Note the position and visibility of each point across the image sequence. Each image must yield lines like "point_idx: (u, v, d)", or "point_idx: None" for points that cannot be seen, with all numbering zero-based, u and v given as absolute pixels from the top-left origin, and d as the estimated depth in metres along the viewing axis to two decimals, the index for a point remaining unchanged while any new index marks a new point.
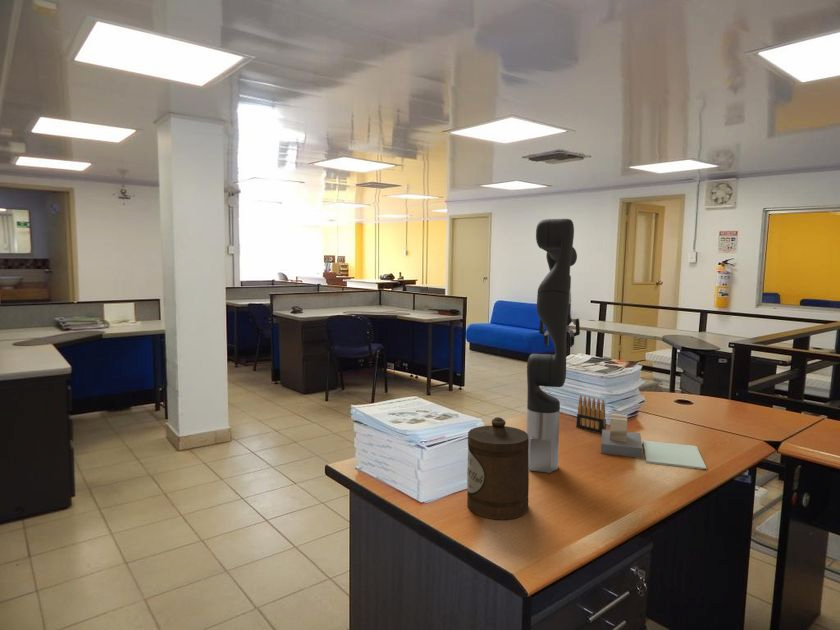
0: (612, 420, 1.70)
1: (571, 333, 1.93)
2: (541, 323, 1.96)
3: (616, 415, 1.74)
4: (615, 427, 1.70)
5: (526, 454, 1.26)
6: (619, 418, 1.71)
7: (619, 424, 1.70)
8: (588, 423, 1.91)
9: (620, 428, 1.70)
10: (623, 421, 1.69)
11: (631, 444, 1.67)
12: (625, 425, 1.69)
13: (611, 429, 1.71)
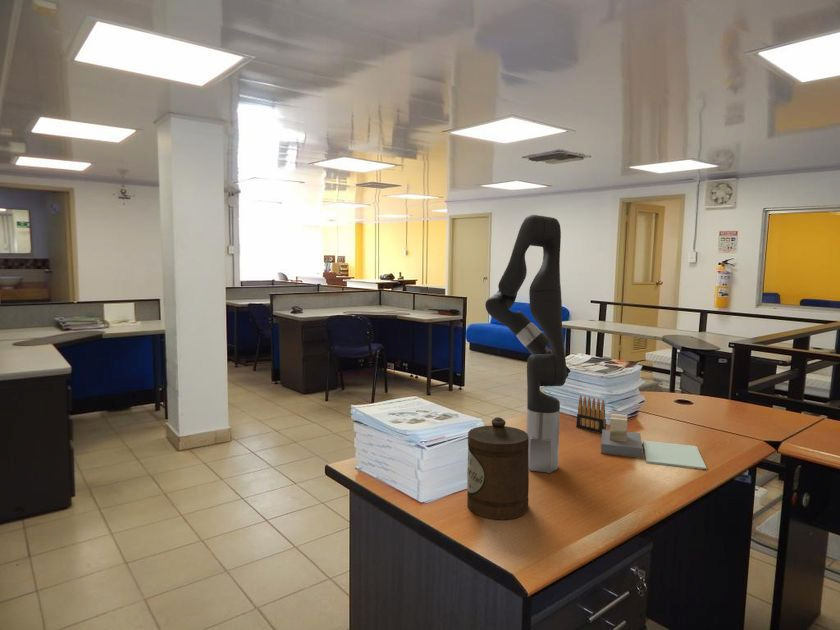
0: (612, 420, 1.70)
1: None
2: None
3: (616, 415, 1.74)
4: (615, 427, 1.70)
5: (526, 454, 1.26)
6: (619, 418, 1.71)
7: (619, 424, 1.70)
8: (588, 423, 1.91)
9: (620, 428, 1.70)
10: (623, 421, 1.69)
11: (631, 444, 1.67)
12: (625, 425, 1.69)
13: (611, 429, 1.71)
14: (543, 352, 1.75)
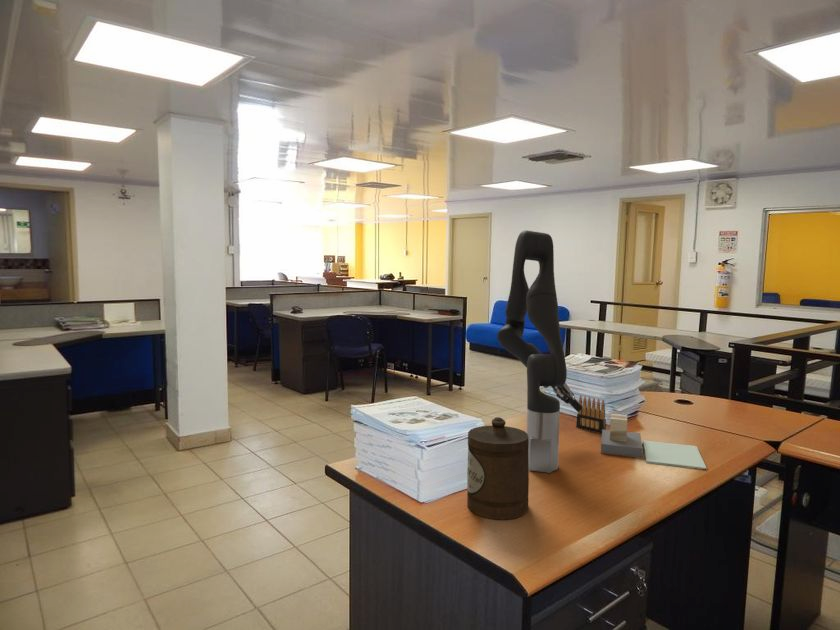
0: (612, 420, 1.70)
1: (572, 395, 1.78)
2: (566, 393, 1.73)
3: (616, 415, 1.74)
4: (615, 427, 1.70)
5: (526, 454, 1.26)
6: (619, 418, 1.71)
7: (619, 424, 1.70)
8: (588, 423, 1.91)
9: (620, 428, 1.70)
10: (623, 421, 1.69)
11: (631, 444, 1.67)
12: (625, 425, 1.69)
13: (611, 429, 1.71)
14: None
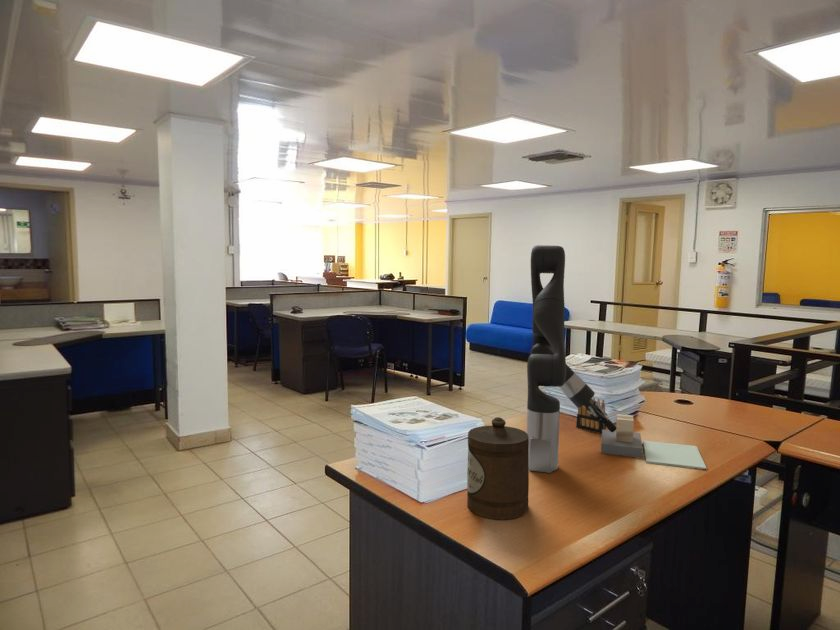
0: (618, 421, 1.70)
1: (606, 415, 1.74)
2: (600, 413, 1.70)
3: (622, 415, 1.74)
4: (621, 428, 1.70)
5: (526, 454, 1.26)
6: (625, 418, 1.70)
7: (625, 425, 1.69)
8: (588, 423, 1.91)
9: (626, 428, 1.69)
10: (629, 421, 1.69)
11: (631, 444, 1.67)
12: (631, 425, 1.69)
13: (617, 430, 1.70)
14: (588, 405, 1.72)
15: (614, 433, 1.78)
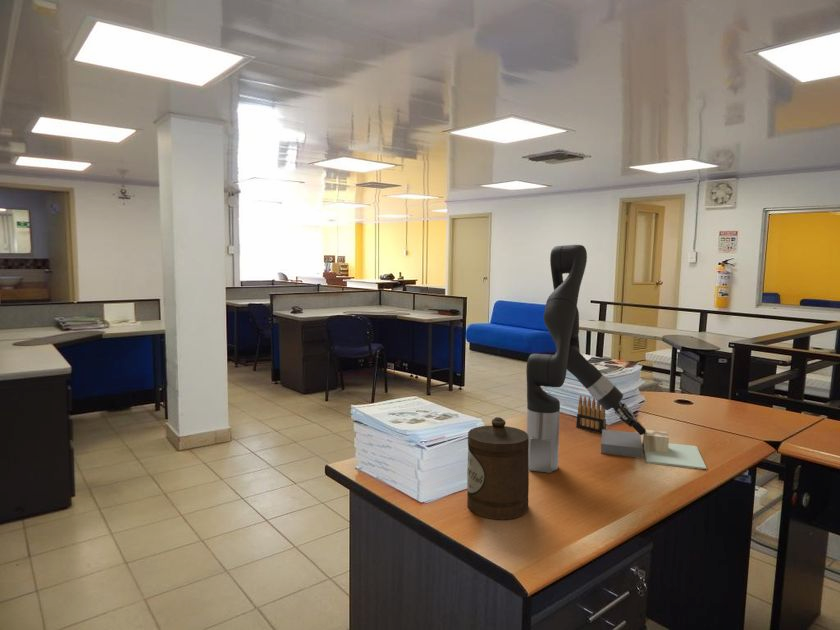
0: (666, 439, 1.66)
1: (635, 418, 1.72)
2: (629, 416, 1.67)
3: None
4: (658, 441, 1.67)
5: (526, 454, 1.26)
6: None
7: (662, 445, 1.67)
8: (588, 423, 1.91)
9: (658, 446, 1.67)
10: (666, 449, 1.66)
11: (631, 444, 1.67)
12: (661, 450, 1.67)
13: (656, 437, 1.67)
14: (617, 407, 1.69)
15: (614, 433, 1.78)
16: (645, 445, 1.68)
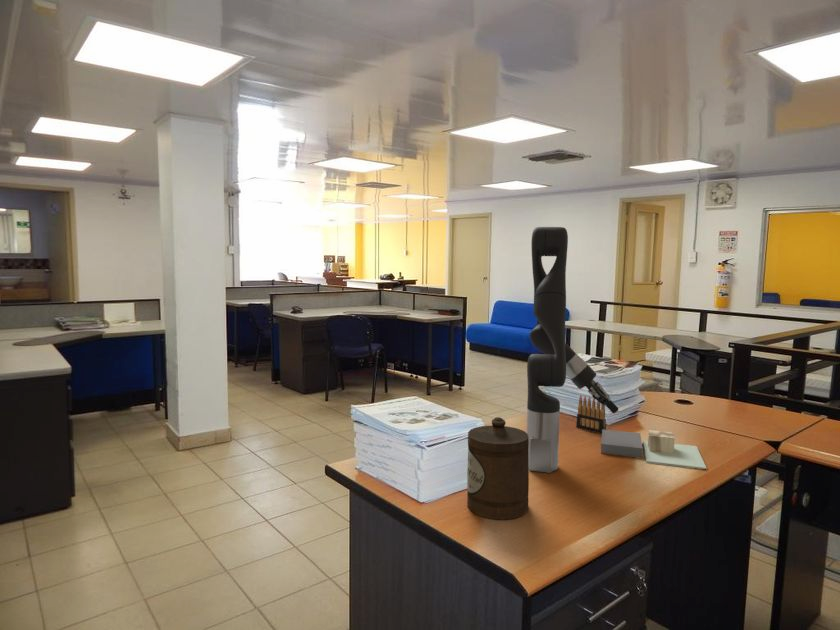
0: (672, 439, 1.65)
1: (607, 396, 1.74)
2: (602, 394, 1.69)
3: None
4: (664, 441, 1.66)
5: (526, 454, 1.26)
6: (673, 445, 1.67)
7: (668, 445, 1.66)
8: (588, 423, 1.91)
9: (663, 446, 1.66)
10: (672, 449, 1.66)
11: (631, 444, 1.67)
12: (667, 451, 1.66)
13: (662, 438, 1.66)
14: (590, 386, 1.71)
15: (614, 433, 1.78)
16: (651, 446, 1.68)
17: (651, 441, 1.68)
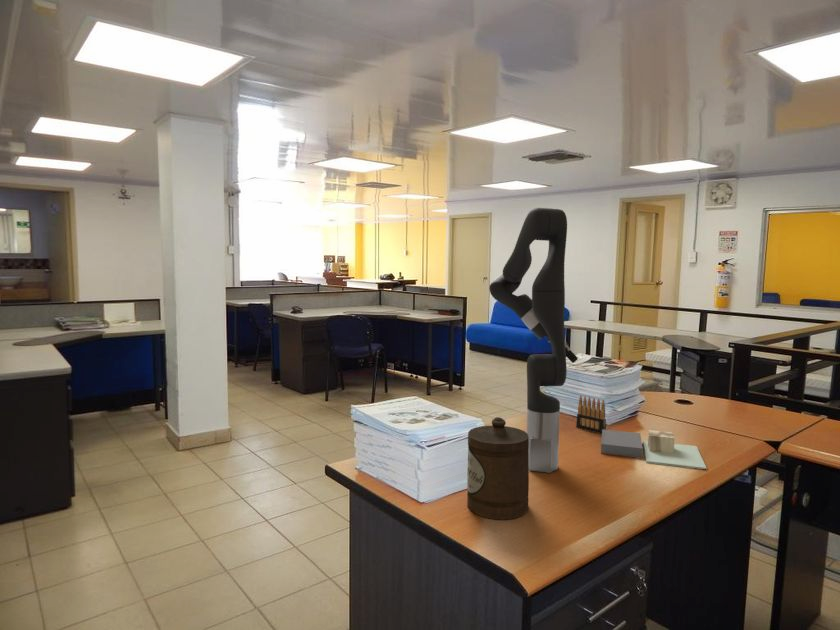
0: (672, 439, 1.65)
1: (567, 346, 1.75)
2: None
3: None
4: (664, 441, 1.66)
5: (526, 454, 1.26)
6: (673, 445, 1.67)
7: (668, 445, 1.66)
8: (588, 423, 1.91)
9: (663, 446, 1.66)
10: (672, 449, 1.66)
11: (631, 444, 1.67)
12: (667, 451, 1.66)
13: (662, 438, 1.66)
14: None
15: (614, 433, 1.78)
16: (651, 446, 1.68)
17: (651, 441, 1.68)
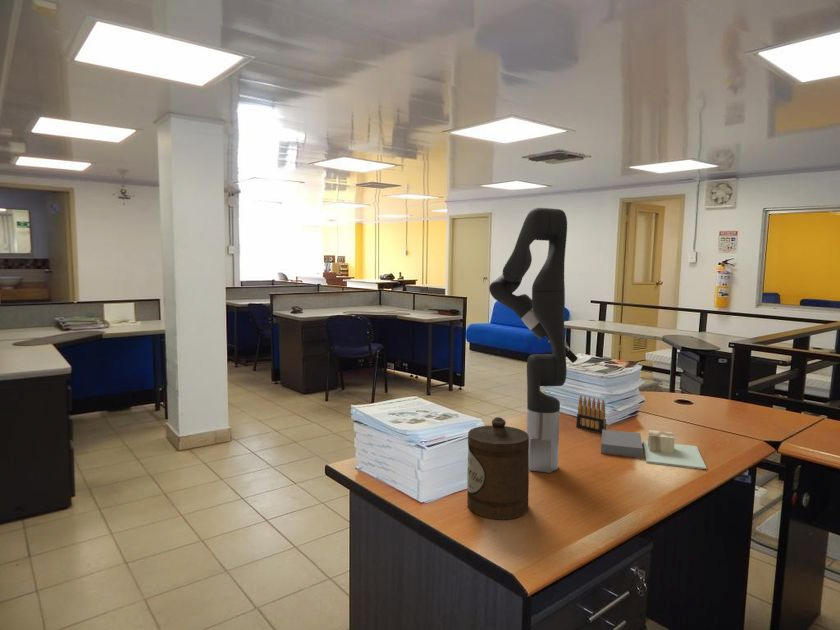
0: (672, 439, 1.65)
1: (567, 346, 1.75)
2: None
3: None
4: (664, 441, 1.66)
5: (526, 454, 1.26)
6: (673, 445, 1.67)
7: (668, 445, 1.66)
8: (588, 423, 1.91)
9: (663, 446, 1.66)
10: (672, 449, 1.66)
11: (631, 444, 1.67)
12: (667, 451, 1.66)
13: (662, 438, 1.66)
14: None
15: (614, 433, 1.78)
16: (651, 446, 1.68)
17: (651, 441, 1.68)
